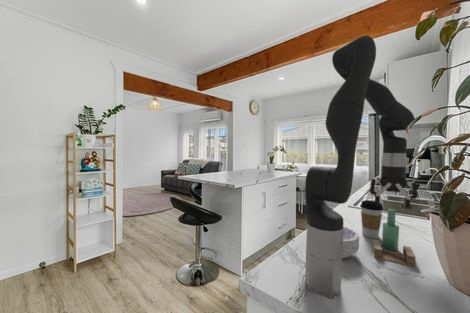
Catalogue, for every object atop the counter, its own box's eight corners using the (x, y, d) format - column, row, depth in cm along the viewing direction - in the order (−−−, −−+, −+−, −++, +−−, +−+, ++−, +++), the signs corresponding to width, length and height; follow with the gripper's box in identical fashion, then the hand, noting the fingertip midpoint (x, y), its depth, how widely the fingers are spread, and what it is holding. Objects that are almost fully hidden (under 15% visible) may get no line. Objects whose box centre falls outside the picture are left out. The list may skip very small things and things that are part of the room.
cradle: (414, 266, 68) (415, 257, 68) (374, 257, 74) (374, 248, 74) (409, 256, 75) (410, 247, 75) (373, 248, 81) (373, 239, 81)
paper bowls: (304, 246, 82) (304, 226, 81) (334, 240, 87) (334, 221, 87) (335, 267, 68) (336, 243, 67) (368, 259, 73) (369, 236, 73)
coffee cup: (357, 235, 93) (358, 201, 92) (361, 229, 99) (363, 198, 98) (380, 241, 87) (381, 205, 86) (383, 235, 93) (385, 201, 92)
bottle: (399, 252, 78) (401, 212, 77) (382, 249, 80) (384, 210, 79) (396, 247, 82) (398, 209, 81) (381, 243, 85) (383, 207, 84)
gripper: (371, 164, 80) (369, 206, 81) (420, 167, 73) (418, 213, 74) (370, 163, 86) (369, 202, 87) (415, 165, 79) (413, 207, 80)
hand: (391, 207), depth 80 cm, fingers open, 8 cm apart
